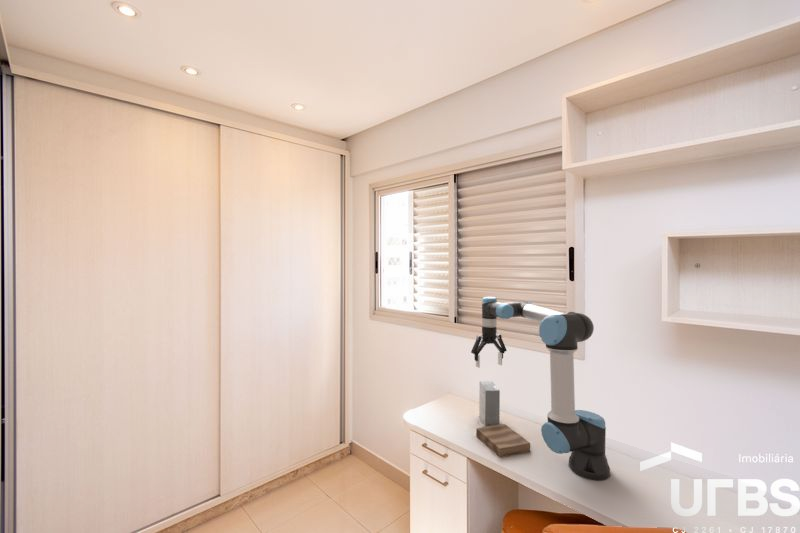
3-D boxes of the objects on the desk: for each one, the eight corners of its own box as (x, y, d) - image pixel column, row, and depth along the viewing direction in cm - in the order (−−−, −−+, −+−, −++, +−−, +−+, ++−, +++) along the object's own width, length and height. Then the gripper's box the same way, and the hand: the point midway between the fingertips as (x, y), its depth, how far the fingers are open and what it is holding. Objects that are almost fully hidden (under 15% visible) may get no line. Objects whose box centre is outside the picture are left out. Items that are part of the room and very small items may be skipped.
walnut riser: (530, 451, 160) (530, 442, 160) (499, 457, 155) (499, 448, 155) (504, 431, 179) (504, 423, 179) (476, 436, 174) (476, 428, 174)
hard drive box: (499, 429, 181) (500, 390, 181) (484, 429, 181) (485, 390, 181) (492, 416, 196) (492, 380, 196) (478, 416, 197) (478, 380, 196)
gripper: (505, 323, 196) (504, 361, 196) (464, 326, 188) (464, 365, 188) (513, 326, 189) (513, 365, 189) (471, 328, 181) (471, 369, 181)
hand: (488, 365), depth 189 cm, fingers open, 13 cm apart
